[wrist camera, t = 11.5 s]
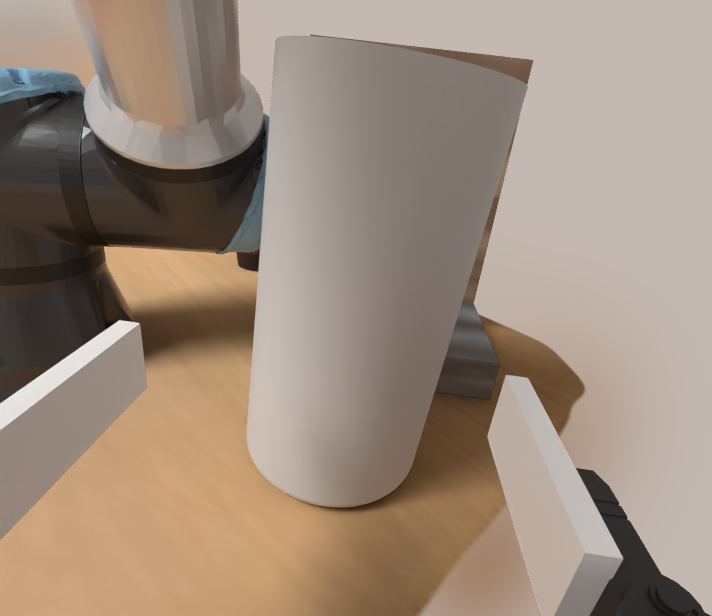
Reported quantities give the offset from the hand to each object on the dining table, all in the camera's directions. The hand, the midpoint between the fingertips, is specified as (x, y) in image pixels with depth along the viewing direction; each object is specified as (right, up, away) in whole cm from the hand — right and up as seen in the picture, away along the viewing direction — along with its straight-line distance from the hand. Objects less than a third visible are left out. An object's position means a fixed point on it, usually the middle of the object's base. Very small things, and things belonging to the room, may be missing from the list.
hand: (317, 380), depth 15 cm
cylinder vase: (-1, -8, +17) cm, 18 cm away
